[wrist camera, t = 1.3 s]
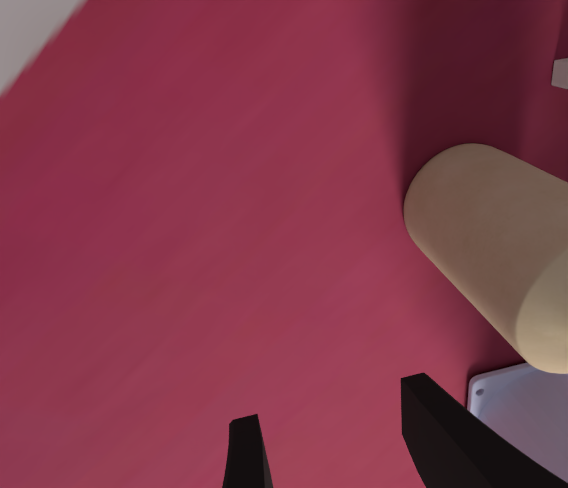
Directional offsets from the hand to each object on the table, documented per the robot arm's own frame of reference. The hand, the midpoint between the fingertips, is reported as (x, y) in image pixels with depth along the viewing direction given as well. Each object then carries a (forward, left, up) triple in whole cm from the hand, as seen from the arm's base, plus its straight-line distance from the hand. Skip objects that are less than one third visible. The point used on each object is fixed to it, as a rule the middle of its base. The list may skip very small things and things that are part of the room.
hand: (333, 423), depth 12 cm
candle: (0, -9, -11) cm, 14 cm away
